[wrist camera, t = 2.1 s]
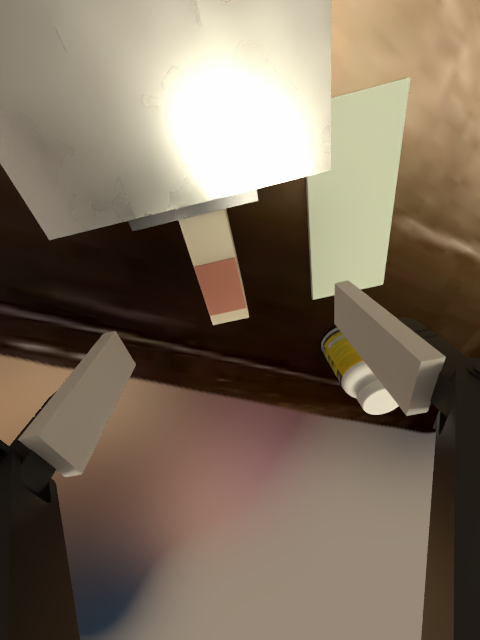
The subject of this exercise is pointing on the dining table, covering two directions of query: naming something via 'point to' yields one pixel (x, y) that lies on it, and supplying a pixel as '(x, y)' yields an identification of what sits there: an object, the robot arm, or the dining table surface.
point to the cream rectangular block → (216, 265)
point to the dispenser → (160, 105)
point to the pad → (356, 189)
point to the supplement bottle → (356, 374)
